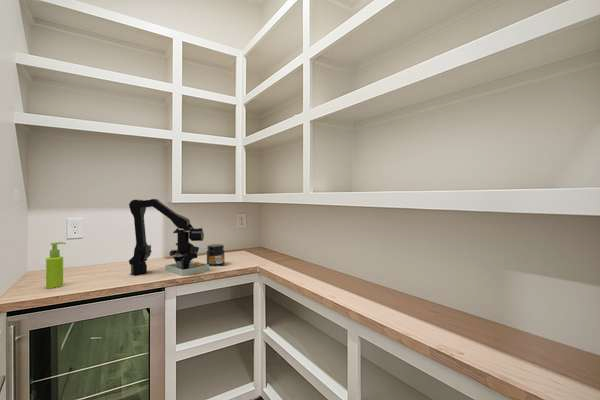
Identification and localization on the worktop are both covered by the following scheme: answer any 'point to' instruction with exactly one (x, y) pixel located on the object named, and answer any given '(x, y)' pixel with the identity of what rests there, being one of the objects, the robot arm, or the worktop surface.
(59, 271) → the soap dispenser
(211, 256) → the supplement container
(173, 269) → the bay
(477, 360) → the worktop surface
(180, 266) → the connector
